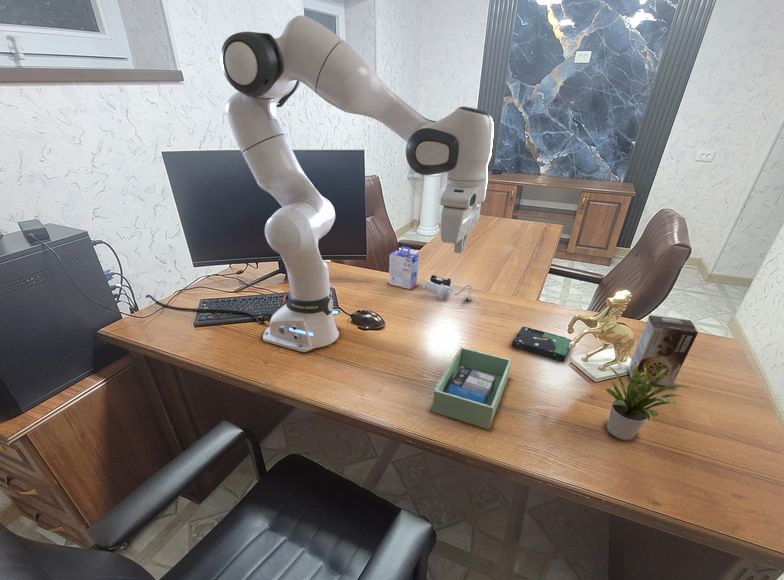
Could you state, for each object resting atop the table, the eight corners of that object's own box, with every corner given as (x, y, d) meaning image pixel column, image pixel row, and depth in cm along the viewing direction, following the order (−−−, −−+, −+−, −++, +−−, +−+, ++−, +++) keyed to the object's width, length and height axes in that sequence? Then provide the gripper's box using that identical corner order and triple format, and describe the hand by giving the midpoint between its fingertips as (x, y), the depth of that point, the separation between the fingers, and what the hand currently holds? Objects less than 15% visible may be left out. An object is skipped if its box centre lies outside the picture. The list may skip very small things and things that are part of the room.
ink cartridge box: (417, 285, 150) (419, 248, 142) (411, 290, 146) (412, 252, 138) (395, 279, 154) (396, 243, 146) (388, 284, 150) (388, 247, 142)
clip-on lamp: (473, 302, 144) (430, 282, 149) (479, 286, 141) (435, 267, 146) (463, 312, 135) (418, 291, 140) (470, 296, 131) (423, 275, 136)
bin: (489, 429, 85) (493, 408, 82) (432, 411, 90) (434, 390, 86) (507, 379, 100) (511, 359, 97) (458, 365, 105) (460, 346, 102)
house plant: (680, 454, 79) (719, 392, 70) (622, 465, 77) (653, 402, 68) (630, 408, 91) (657, 350, 82) (577, 416, 88) (599, 357, 80)
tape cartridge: (496, 375, 94) (481, 405, 85) (494, 388, 96) (479, 418, 87) (461, 365, 98) (443, 392, 88) (459, 377, 100) (441, 405, 91)
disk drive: (510, 349, 112) (564, 364, 106) (512, 340, 111) (567, 355, 104) (520, 333, 120) (571, 346, 113) (522, 325, 118) (574, 338, 112)
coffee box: (665, 373, 103) (692, 319, 94) (671, 388, 97) (700, 332, 89) (626, 366, 105) (649, 313, 96) (631, 380, 100) (655, 326, 91)
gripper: (465, 182, 97) (459, 237, 105) (437, 198, 82) (433, 262, 89) (490, 185, 95) (482, 241, 102) (467, 202, 79) (459, 266, 87)
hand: (459, 251), depth 96 cm, fingers closed
